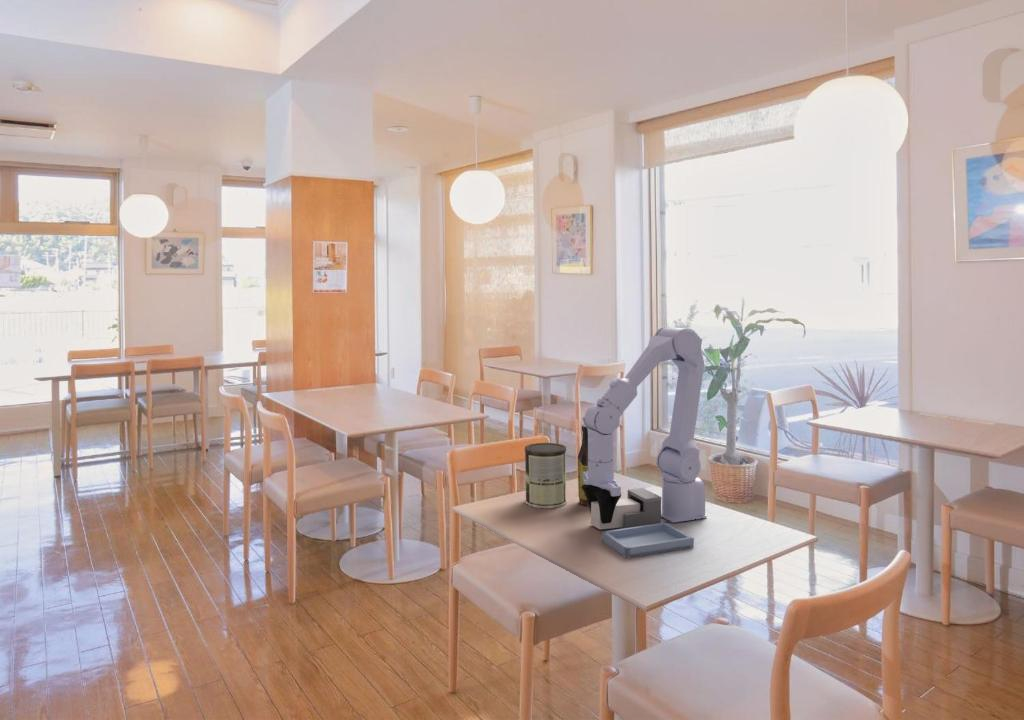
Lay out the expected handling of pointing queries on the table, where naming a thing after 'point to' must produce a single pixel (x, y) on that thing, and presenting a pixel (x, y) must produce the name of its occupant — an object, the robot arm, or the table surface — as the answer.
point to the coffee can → (545, 475)
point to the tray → (647, 539)
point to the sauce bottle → (583, 465)
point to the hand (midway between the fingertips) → (601, 519)
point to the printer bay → (643, 509)
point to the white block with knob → (617, 519)
